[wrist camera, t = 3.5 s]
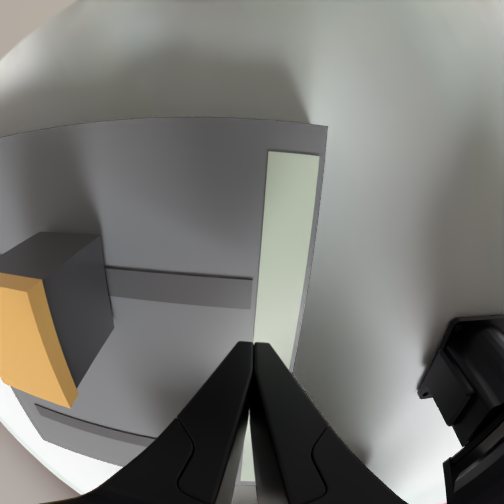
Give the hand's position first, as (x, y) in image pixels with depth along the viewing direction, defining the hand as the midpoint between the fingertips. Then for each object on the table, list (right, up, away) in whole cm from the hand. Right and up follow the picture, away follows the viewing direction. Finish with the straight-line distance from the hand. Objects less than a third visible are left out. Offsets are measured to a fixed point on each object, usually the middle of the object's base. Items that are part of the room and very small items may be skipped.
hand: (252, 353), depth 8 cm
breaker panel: (-7, -2, +8) cm, 11 cm away
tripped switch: (-7, +2, +3) cm, 8 cm away
